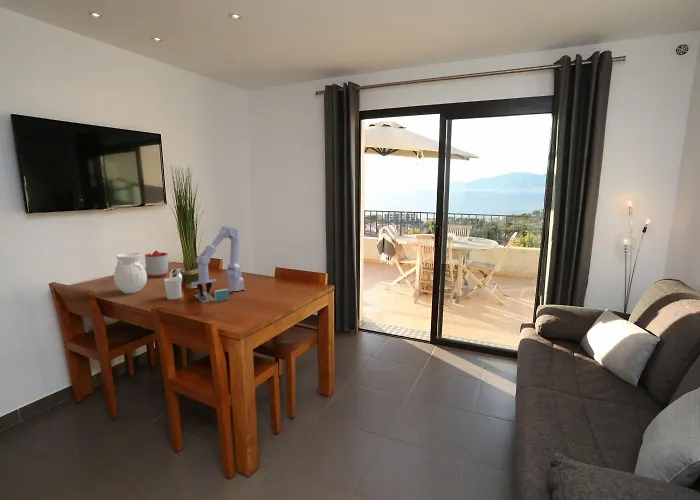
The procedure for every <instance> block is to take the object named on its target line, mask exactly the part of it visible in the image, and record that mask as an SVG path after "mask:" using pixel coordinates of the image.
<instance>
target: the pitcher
mask: <svg viewBox="0 0 700 500" xmlns="http://www.w3.org/2000/svg"><path fill="white" fill-rule="evenodd" d="M141 256H142V254H141V253H138V252H124V253H123V252H122V253H119V254H117V255H116V259H117V262H116V266H115V267H114V268H115V270H114V273H113V280H114V284H115V285H116V287H117V289H118V290H120V291H121V292H122V293H123V294H126V295H127V294H128V295H129V294H135V293H138V292H140V291H141V290H142V289H144V287H145V286H146V284H147V280H148V275H147V274H148V273H147V270H146V268H145V267H144V266H143V264H142V263H141Z"/></svg>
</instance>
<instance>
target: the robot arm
mask: <svg viewBox="0 0 700 500" xmlns="http://www.w3.org/2000/svg"><path fill="white" fill-rule="evenodd" d="M227 238H228V239H229V240H230V251H229V253H230V254H229V264H227V266H226V271H225V275H226V276H227V279H228V280H227V281H228V289H229V291H238V290H242V289H244V290H245V284H244V283H245V282H244V278H243V276H242V270H241V269H242V268H241V266H240V264H239V258H240V240H241V238H240V235H239V230H238V229H237V228H236V227H234V226H228V225H223V226H222V227H221V229H219V231H218V234H217V235H216V237H214V240H212V243H211V244H209V245H206V246H205V247H204V248H205V249H204V250H203V251H202V252H201V253H200V254H199V255H198V256H196V259H195V262H196V264H197V269H198V272H197V273H198V280H196V281H193V282H190V283H191V286H192V287H194V286H196V287H197V289H198V292H199V291H200V294H201V296H203V289H204V288H203V287H204V286H203V285H205V290H206V291H207V292H208V293H209V294H210V290H211V288H212V286H213V284H214V283H217V279H216V278H212V279H209V278H210V276H209V275H210V274H209V263H210V261H211V258H212V256H213V255H214V254H215V253H216V252H217V251H216V250H217V249H216V248H217V247H218V246H219V244H221V242H222V241H223V240H224V239H227Z"/></svg>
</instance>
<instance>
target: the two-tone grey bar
mask: <svg viewBox="0 0 700 500" xmlns="http://www.w3.org/2000/svg"><path fill="white" fill-rule="evenodd" d="M198 294H199V296H201V294H200V291H199V290H198ZM211 295H212V294H211V293H210V292H209V293H208V292H207V291H206V289H204V288H203V296H201V297H202V298H203V299H204V300H206V301H208V300H211V297H212V296H211Z"/></svg>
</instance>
